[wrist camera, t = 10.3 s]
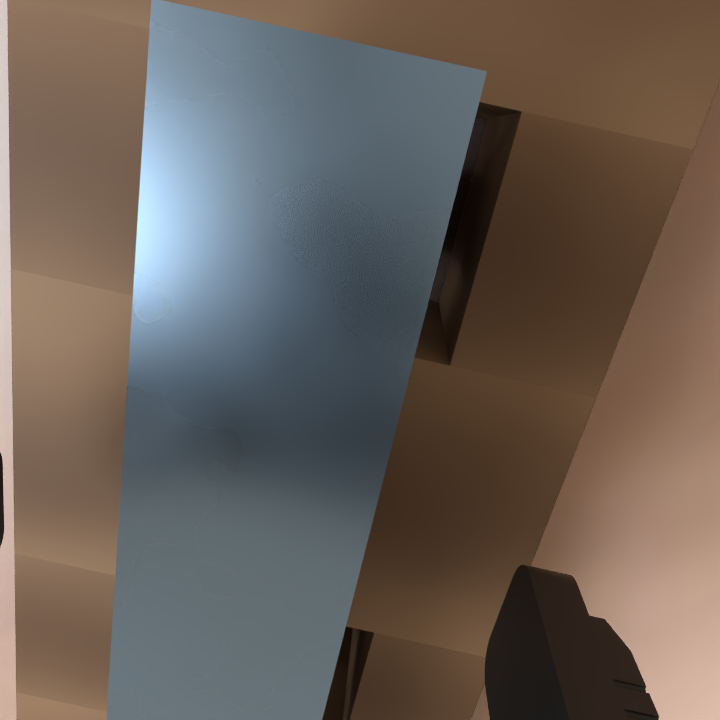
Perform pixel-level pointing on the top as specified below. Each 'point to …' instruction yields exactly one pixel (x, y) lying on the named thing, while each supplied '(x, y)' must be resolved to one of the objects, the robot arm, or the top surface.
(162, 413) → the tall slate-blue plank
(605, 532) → the top surface
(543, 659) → the robot arm
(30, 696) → the socket block
